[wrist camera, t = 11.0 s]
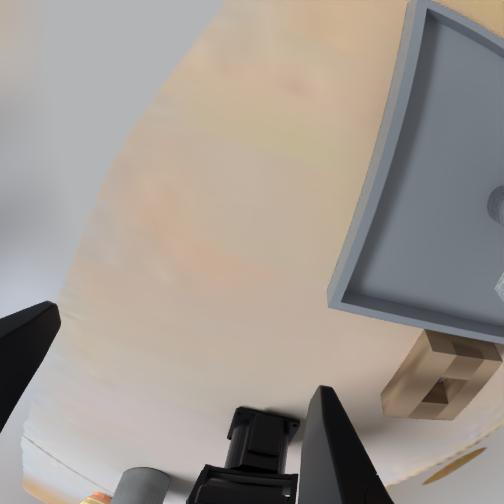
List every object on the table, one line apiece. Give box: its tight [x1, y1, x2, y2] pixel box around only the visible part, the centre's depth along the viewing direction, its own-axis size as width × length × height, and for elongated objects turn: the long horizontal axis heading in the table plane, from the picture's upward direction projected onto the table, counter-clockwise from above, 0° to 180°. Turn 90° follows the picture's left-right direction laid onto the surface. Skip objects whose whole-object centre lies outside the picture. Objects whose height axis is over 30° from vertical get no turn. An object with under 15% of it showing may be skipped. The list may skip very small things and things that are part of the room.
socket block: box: [381, 329, 503, 420], centre depth 22 cm, size 8×8×2 cm
